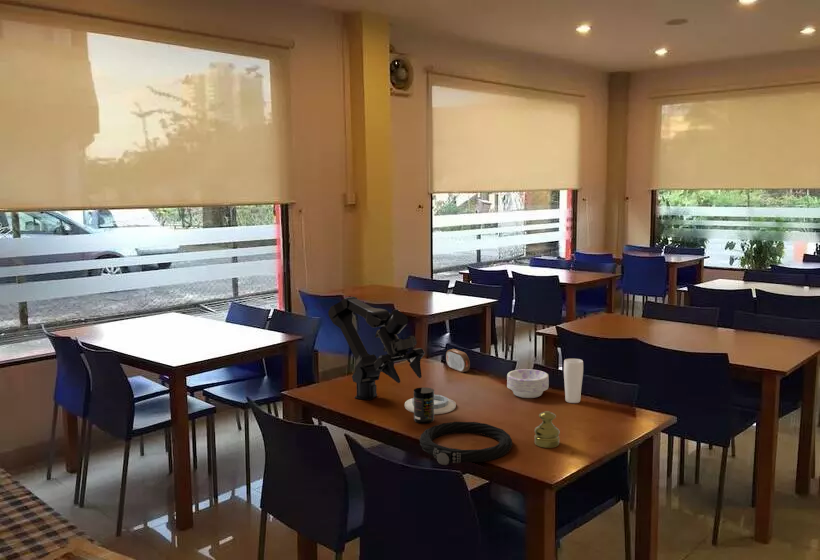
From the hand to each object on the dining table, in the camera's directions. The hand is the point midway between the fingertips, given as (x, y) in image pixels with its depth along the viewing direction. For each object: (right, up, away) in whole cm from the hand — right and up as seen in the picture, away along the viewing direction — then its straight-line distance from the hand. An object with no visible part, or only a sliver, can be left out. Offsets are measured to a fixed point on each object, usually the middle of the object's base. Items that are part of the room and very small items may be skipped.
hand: (410, 380), depth 233 cm
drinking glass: (+58, -10, +14) cm, 61 cm away
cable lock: (+16, -16, -29) cm, 37 cm away
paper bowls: (+44, -9, +23) cm, 50 cm away
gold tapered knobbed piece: (+41, -15, -27) cm, 51 cm away
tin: (+20, -5, +59) cm, 63 cm away
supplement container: (+5, -13, -5) cm, 15 cm away
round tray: (+7, -11, +10) cm, 16 cm away
